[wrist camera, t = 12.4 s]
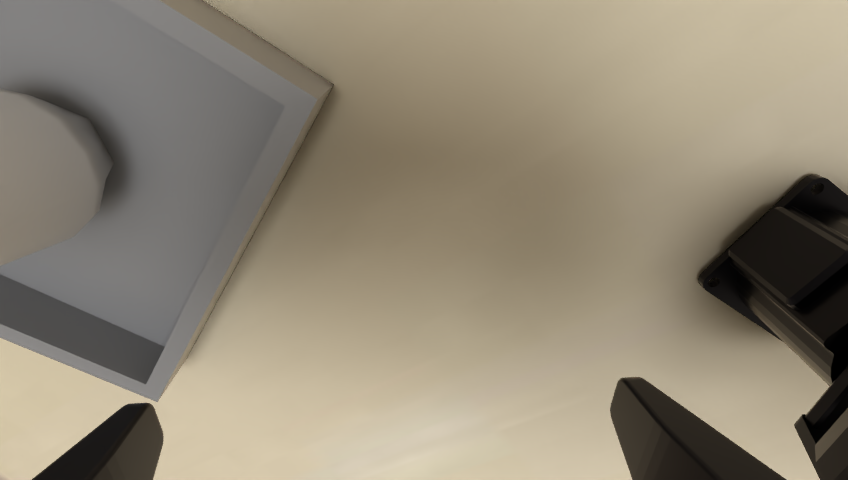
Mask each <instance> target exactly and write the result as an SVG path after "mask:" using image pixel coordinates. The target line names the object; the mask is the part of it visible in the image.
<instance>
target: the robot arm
mask: <svg viewBox="0 0 848 480" xmlns="http://www.w3.org/2000/svg"><path fill="white" fill-rule="evenodd" d="M816 184H817V186H816V187H815V189H813V190H812V191H811V189H812V187H813V186H814V185H816ZM712 278H714V280H713V281H711V282H709V281H710V280H711V279H712ZM698 281H699V284H700V285H701V286H702V287H703V288H704V289H705V290H706V291H708V292H709V293H711V294H712V295H714V296H715V297H717V298H718V299H720V300H721V301H723V302H724V303H726V304H727V305H729V306H730V307H732V308H733V309H735V310H736V311H738V312H739V313H741V314H742V315H744V316H745V317H747V318H748V319H750V320H751V321H753V322H754V323H756V324H757V325H759V326H760V327H762V328H763V329H765V330H766V331H768V332H769V333H771V334H772V335H774V336H775V337H777V338H778V339H780V340H781V341H783V342H784V343H785V344H786V345H788V346H789V347H790V348H791V349H792V350H793V351H794V352H795V353H796V354H797V355H798V356H799V357H800V358H801V359H802V360H803V361H804V362H805V363H806V364H807V365H808V366H809V367H810V368H811V369H813V370H814V371H815V372H816V373H817V374H818V375H819V376H820V377H821V378H822V379H823V380H824V381H825V382H826V383H827V384H828V385H829V386H830V387H829V388H828V389H827V390H826V391H825V393H824V394H823V395H822V396H821V397H820V399H819V400H818V401H817V402H816V404H815V405H814V406H813V407H812V408H811V410H810V411H809V412H808V413H807V414H806V415H805V414H804V415H802V416H801V417H800V418H799V419H798V421H797V422H796V423H795V424H794V426H795V428H796V430H797V433H798V435H799V437H800V439H801V441H802V443H803V445H804V447H805V449H806V451H807V453H808V455H809V457H810V460H811V462H812V464H813V466H814V468H815V470H816V472H817V474H818V476H819V478H820V480H848V195H846V194H845V193H844V192H843V191H841V190H840V189H839V188H838V187H837V186H835V185H834V184H833V183H832V182H831V181H829V180H828V179H826V178H824V177H822V176H819V175H810V176H807V177H806V178H804V179H803V180H802V181H801V182H800V183H799V184H798V185H796V186H795V187H794V188H793V189H792V190H791V191H790V192H789V193H788V194H787V195H786V196H785V197H783V198H782V199H781V200H780V201H779V202H778V203H777V204H776V205H775V206H774V207H773V208H772V209H770V210H769V211H768V212H767V213H766V214H765V215H764V216H763V217H762V218H761V219H760V220H759V221H757V222H756V223H755V224H754V225H753V226H752V227H751V228H750V229H749V230H748V231H747V232H746V233H745V234H743V235H742V236H741V237H740V238H739V239H738V240H737V241H736V242H735V243H734V244H733V245H732V246H730V247H729V248H728V249H727V250H726V251H725V252H724V253H723V254H722V255H721V256H720V257H719V258H717V259H716V260H715V261H714V262H713V263H712V264H711V265H710V266H709V267H708V268H707V269H706V270H704V271H703V272H702V273H701V275H700V276H699V279H698ZM610 412H611V418H612V421H613V424H614V427H615V430H616V433H617V436H618V439H619V442H620V445H621V447H622V450H623V453H624V456H625V459H626V462H627V465H628V468H629V471H630V474H631V477H632V480H786V479H785V478H783V477H782V476H780V475H779V474H778V473H776V472H775V471H773V470H772V469H770V468H769V467H768V466H766V465H765V464H763V463H762V462H761V461H759V460H758V459H756V458H755V457H753V456H752V455H751V454H749V453H748V452H746V451H745V450H744V449H742V448H741V447H739V446H738V445H737V444H735V443H734V442H732V441H731V440H729V439H728V438H727V437H725V436H724V435H722V434H721V433H720V432H718V431H717V430H715V429H714V428H712V427H711V426H710V425H708V424H707V423H705V422H704V421H703V420H701V419H700V418H698V417H697V416H695V415H694V414H693V413H691V412H690V411H688V410H687V409H686V408H684V407H683V406H681V405H680V404H678V403H677V402H676V401H674V400H673V399H671V398H670V397H669V396H667V395H666V394H664V393H663V392H662V391H660V390H659V389H657V388H656V387H654V386H653V385H652V384H650V383H649V382H647V381H646V380H644V379H643V378H640V377H627V378H621V379H620V380H619V381H618V383H617V386H616V389H615V393H614V396H613V400H612V403H611V408H610ZM162 445H163V431H162V428H161V425H160V423H159V420H158V417H157V414H156V412H155V409H154V407H153V405H151V404H150V403H135V404H127V405H125V406H123V407H122V408H121V409H119V410H118V411H117V412H116V413H114V414H113V415H112V416H111V417H109V418H108V419H107V420H106V421H104V422H103V423H102V424H101V425H99V426H98V427H97V428H96V429H94V430H93V431H92V432H91V433H89V434H88V435H87V436H86V437H84V438H83V439H82V440H81V441H79V442H78V443H77V444H76V445H74V446H73V447H72V448H71V449H69V450H68V451H67V452H66V453H64V454H63V455H62V456H61V457H59V458H58V459H57V460H56V461H54V462H53V463H52V464H51V465H49V466H48V467H47V468H46V469H44V470H43V471H42V472H41V473H39V474H38V475H37V476H36V477H34V478H33V479H32V480H153V477H154V474H155V470H156V467H157V463H158V460H159V456H160V453H161V449H162Z"/></svg>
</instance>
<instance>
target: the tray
mask: <svg viewBox="0 0 848 480" xmlns="http://www.w3.org/2000/svg"><path fill="white" fill-rule="evenodd" d="M332 87H333V84H332V83H330V82H329V81H327V80H326V79H324V78H322V77H321V76H319V75H318V74H316V73H315V72H313V71H312V70H310V69H308V68H307V67H305V66H304V65H302V64H301V63H299V62H297V61H296V60H294V59H293V58H291V57H290V56H288V55H287V54H285V53H283V52H282V51H280V50H279V49H277V48H276V47H274V46H272V45H271V44H269V43H268V42H266V41H265V40H263V39H262V38H260V37H258V36H257V35H255V34H254V33H252V32H251V31H249V30H248V29H246V28H244V27H243V26H241V25H240V24H238V23H237V22H235V21H233V20H232V19H230V18H229V17H227V16H226V15H224V14H223V13H221V12H219V11H218V10H216V9H215V8H213V7H212V6H210V5H208V4H207V3H205V2H204V1H202V0H0V89H3V90H8V91H13V92H17V93H22V94H26V95H30V96H33V97H35V98H38V99H41V100H44V101H46V102H49V103H51V104H54V105H56V106H59V107H61V108H63V109H66V110H68V111H71V112H73V113H76V114H78V115H81V116H83V117H85V118H88V119H90V121H91V123H92V124H93V126H94V128H95V130H96V132H97V133H98V135H99V137H100V139H101V140H102V142H103V144H104V146H105V147H106V149H107V151H108V153H109V155H110V156H111V158H112V160H113V162H114V164H113V166H112V168H111V170H110V172H109V174H108V176H107V178H106V181H105V186H104V191H103V196H102V200H101V205H100V210H99V211H98V212H97V213H96V214H95V215H94V216H93V217H92V219H91V220H90V221H89V222H88V223H87V224H86V225H85V226H84V227H83V228H82V229H81V230H80V231H79V232H78V233H77V234H76V235H75V236H74V237H72V238H70V239H67V240H65V241H62V242H59V243H57V244H54V245H52V246H49V247H47V248H44V249H42V250H39V251H37V252H34V253H32V254H29V255H27V256H24V257H22V258H19V259H17V260H14V261H12V262H9V263H7V264H4V265H2V266H0V338H2V339H5V340H7V341H10V342H12V343H14V344H17V345H19V346H22V347H24V348H27V349H29V350H32V351H34V352H36V353H39V354H41V355H44V356H46V357H49V358H51V359H54V360H56V361H58V362H61V363H63V364H66V365H68V366H71V367H73V368H75V369H78V370H80V371H83V372H85V373H88V374H90V375H93V376H95V377H97V378H100V379H102V380H105V381H107V382H110V383H112V384H115V385H117V386H119V387H122V388H124V389H127V390H129V391H132V392H134V393H137V394H139V395H141V396H144V397H146V398H149V399H151V400H154V401H156V402H158V400H159V399H160V397H161V396H162V394H163V393H164V392H165V390H166V389H167V387H168V386H169V384H170V383H171V381H172V380H173V378H174V377H175V375H176V374H177V372H178V371H179V369H180V368H181V366H182V365H183V363H184V362H185V360H186V359H187V357H188V355H189V353H190V351H191V349H192V348H193V346H194V344H195V342H196V340H197V338H198V336H199V335H200V333H201V331H202V329H203V327H204V325H205V323H206V322H207V320H208V318H209V316H210V314H211V312H212V310H213V309H214V307H215V305H216V303H217V301H218V299H219V297H220V295H221V294H222V292H223V290H224V288H225V286H226V284H227V282H228V281H229V279H230V277H231V275H232V273H233V271H234V269H235V268H236V266H237V264H238V262H239V260H240V258H241V256H242V254H243V253H244V251H245V249H246V247H247V245H248V243H249V241H250V240H251V238H252V236H253V234H254V232H255V230H256V228H257V227H258V225H259V223H260V221H261V219H262V217H263V215H264V214H265V212H266V210H267V208H268V206H269V204H270V202H271V200H272V199H273V197H274V195H275V193H276V191H277V189H278V187H279V186H280V184H281V182H282V180H283V178H284V176H285V174H286V173H287V171H288V169H289V167H290V165H291V163H292V161H293V159H294V158H295V156H296V154H297V152H298V150H299V148H300V146H301V145H302V143H303V141H304V139H305V137H306V135H307V133H308V132H309V130H310V128H311V126H312V124H313V122H314V120H315V119H316V117H317V115H318V113H319V111H320V109H321V107H322V105H323V104H324V102H325V100H326V98H327V96H328V94H329V92H330V91H331V89H332Z"/></svg>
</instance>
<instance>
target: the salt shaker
mask: <svg viewBox="0 0 848 480" xmlns="http://www.w3.org/2000/svg"><path fill="white" fill-rule="evenodd" d="M113 164H114V162H113V160H112V158H111V156H110V155H109V153H108V151H107V149H106V147H105V146H104V144H103V142H102V140H101V139H100V137H99V135H98V133H97V132H96V130H95V128H94V126H93V124H92V123H91V121H90V119H88V118H85V117H83V116H81V115H78V114H76V113H73V112H71V111H68V110H66V109H63V108H61V107H59V106H56V105H54V104H51V103H49V102H46V101H44V100H41V99H38V98H35V97H33V96H30V95H26V94H22V93H17V92H13V91H8V90H3V89H0V266H2V265H4V264H7V263H9V262H12V261H14V260H17V259H19V258H22V257H24V256H27V255H29V254H32V253H34V252H37V251H39V250H42V249H44V248H47V247H49V246H52V245H54V244H57V243H59V242H62V241H65V240H67V239H70V238H72V237H74V236H75V235H76V234H77V233H78V232H79V231H80V230H81V229H82V228H83V227H84V226H85V225H86V224H87V223H88V222H89V221H90V220H91V219H92V217H93V216H94V215H95V214H96V213H97V212H98V211H99V210H100V205H101V200H102V196H103V191H104V186H105V181H106V178H107V176H108V174H109V172H110V170H111V168H112V166H113Z"/></svg>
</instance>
